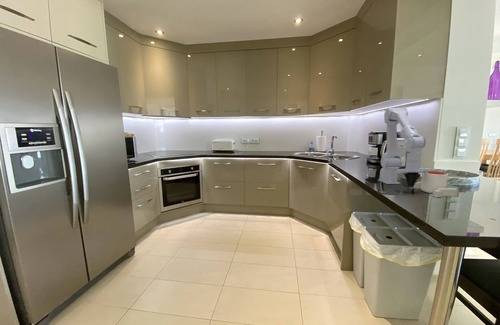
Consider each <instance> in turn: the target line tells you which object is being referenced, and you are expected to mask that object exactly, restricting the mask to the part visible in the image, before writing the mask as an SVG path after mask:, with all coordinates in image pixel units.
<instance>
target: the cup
mask: <svg viewBox="0 0 500 325" xmlns="http://www.w3.org/2000/svg"><path fill="white" fill-rule="evenodd" d="M448 176H449V174H448V173H447V172H442V171H435V170H428V173H421V181H420V182H421V189H420V190H421V191H422V192H425V193H427V194H433V190H436V189H446V186H447V184H448V178H449V177H448Z"/></svg>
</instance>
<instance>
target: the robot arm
mask: <svg viewBox="0 0 500 325" xmlns="http://www.w3.org/2000/svg"><path fill="white" fill-rule="evenodd" d="M408 115H409V110H408V108H407V107H405V106H404V107H388V108H386V110H385V111H384V115H383V116H384V120H383V121H384V124H386V151H385V152H384V153H383V154H381V159H380V165H381V167H382V168H381V169H380V171H379V179H378V181H379V182H381V183H384V184H387V185H400V184H401V182H399V181H398V174H399V175H400V174H403V175H404V177H405V179H406V183H407V187H408V188H409V187H414V184H415V183H416V182H418V179H419V178H420V177H421V176H422V173H428V171H429V169H428V168H421V160H422V151H423V149H424V148H425V147H426V144H427V141H426V138H425V136H422V134H421V135H420V134H419V132H418V131H417V128H416V127H415V126H414V125H411V122H410V121H409V118H408ZM398 124H399V125H400V126H401V128H402V129H401V132H402V134H403V136H404V138H405V140H406V141H405V142H404V143H405V147H406V148H405V151H406V161H405V168H401V167H402V166H403V164H404V163H403V158H402V154H401V153H400V152H398V137H397V134H398V132H397V131H398V130H397V129H398Z"/></svg>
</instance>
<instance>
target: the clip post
mask: <svg viewBox="0 0 500 325" xmlns="http://www.w3.org/2000/svg"><path fill="white" fill-rule="evenodd" d="M433 196H434V198H436V197H441V198H442V197H443V196H442V191H439V190H433V193H432V197H433Z"/></svg>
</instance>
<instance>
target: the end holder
mask: <svg viewBox="0 0 500 325" xmlns="http://www.w3.org/2000/svg"><path fill="white" fill-rule="evenodd" d="M415 183H416V188H415V189H417V190H421V181H416V182H415ZM436 190H439V191H442V197H459V196H460V191H461V190H460V187H459V186H455V185H452V184H448V183H447V186H446V189H436Z"/></svg>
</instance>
